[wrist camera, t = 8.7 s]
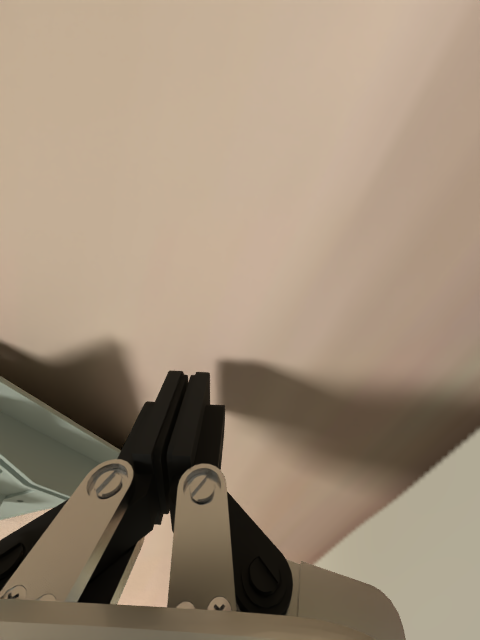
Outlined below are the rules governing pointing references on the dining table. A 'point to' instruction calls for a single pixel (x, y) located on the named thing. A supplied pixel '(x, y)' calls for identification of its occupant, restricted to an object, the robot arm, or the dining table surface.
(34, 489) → the metal bracket
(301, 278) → the dining table surface
